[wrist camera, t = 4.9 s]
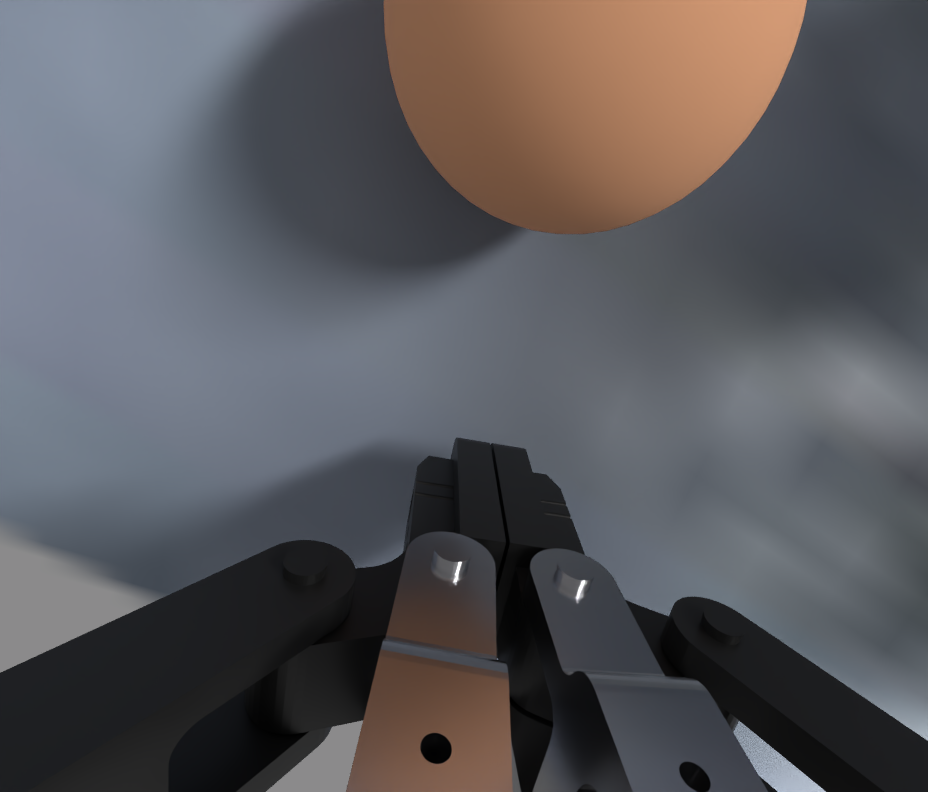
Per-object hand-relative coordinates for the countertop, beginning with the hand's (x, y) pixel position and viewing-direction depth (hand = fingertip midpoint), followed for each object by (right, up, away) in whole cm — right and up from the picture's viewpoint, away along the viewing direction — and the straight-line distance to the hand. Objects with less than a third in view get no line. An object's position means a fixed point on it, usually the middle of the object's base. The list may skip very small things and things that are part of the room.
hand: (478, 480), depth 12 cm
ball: (+1, +7, -4) cm, 8 cm away
